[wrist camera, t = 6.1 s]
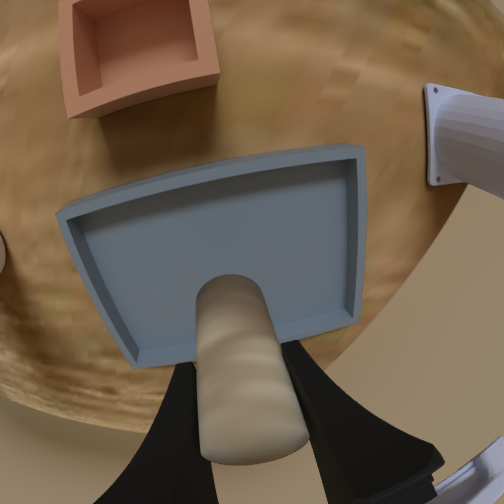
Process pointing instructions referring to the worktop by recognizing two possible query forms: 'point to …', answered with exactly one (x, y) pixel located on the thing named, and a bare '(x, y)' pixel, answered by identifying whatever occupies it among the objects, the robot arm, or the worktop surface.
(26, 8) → the worktop surface
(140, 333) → the slate tray
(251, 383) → the ash peg
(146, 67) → the salmon open box
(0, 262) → the drinking glass
